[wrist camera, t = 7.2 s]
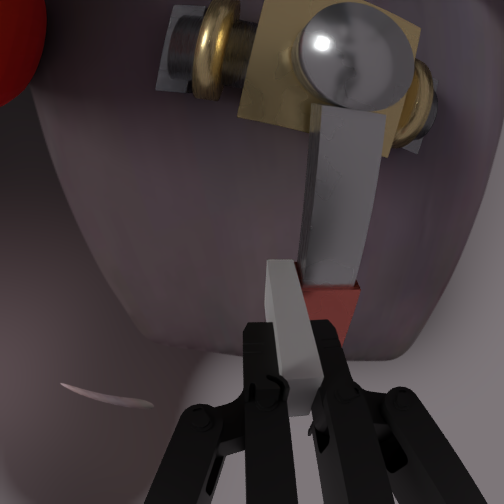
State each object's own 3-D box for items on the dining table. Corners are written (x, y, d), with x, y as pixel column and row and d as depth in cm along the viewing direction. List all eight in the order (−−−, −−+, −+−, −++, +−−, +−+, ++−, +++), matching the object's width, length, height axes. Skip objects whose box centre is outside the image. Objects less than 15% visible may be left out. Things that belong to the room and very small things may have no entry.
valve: (163, 96, 17) (114, 104, 10) (183, 6, 13) (145, -34, 7) (401, 153, 19) (463, 190, 12) (424, 74, 16) (494, 80, 9)
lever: (291, 11, 8) (303, -8, 6) (384, 29, 8) (414, 19, 6) (273, 329, 17) (275, 363, 15) (337, 327, 17) (346, 360, 15)
